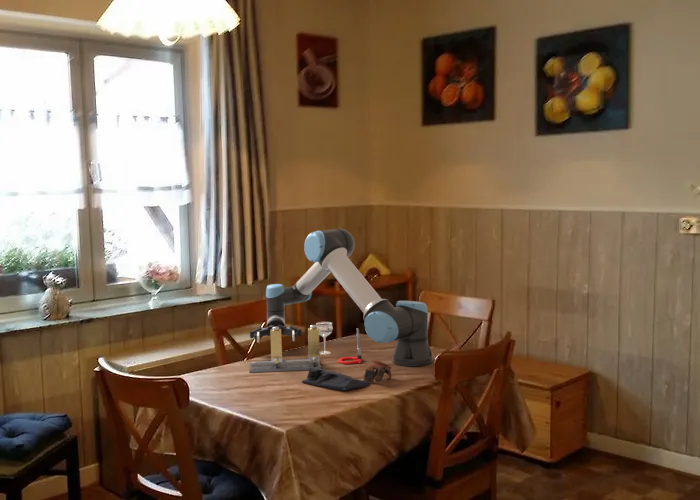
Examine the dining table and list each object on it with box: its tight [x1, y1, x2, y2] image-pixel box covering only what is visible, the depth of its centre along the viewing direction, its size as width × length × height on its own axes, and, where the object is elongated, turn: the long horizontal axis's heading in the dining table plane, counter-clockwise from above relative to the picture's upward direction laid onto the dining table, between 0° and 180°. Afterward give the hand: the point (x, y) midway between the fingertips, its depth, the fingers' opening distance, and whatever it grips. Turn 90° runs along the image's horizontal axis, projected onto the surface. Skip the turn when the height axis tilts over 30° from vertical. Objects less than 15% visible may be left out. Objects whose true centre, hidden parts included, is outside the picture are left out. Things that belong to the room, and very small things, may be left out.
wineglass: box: [315, 321, 334, 355], centre depth 302 cm, size 7×7×12 cm
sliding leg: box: [270, 326, 283, 365], centre depth 281 cm, size 4×7×13 cm, turn 5°
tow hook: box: [337, 328, 363, 365], centre depth 288 cm, size 8×13×9 cm
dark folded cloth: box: [301, 368, 371, 392], centre depth 261 cm, size 15×22×5 cm
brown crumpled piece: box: [362, 359, 392, 385], centre depth 262 cm, size 12×10×8 cm
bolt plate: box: [249, 324, 321, 373], centre depth 283 cm, size 26×12×15 cm, turn 95°
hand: (275, 338), depth 290 cm, fingers open, 13 cm apart
